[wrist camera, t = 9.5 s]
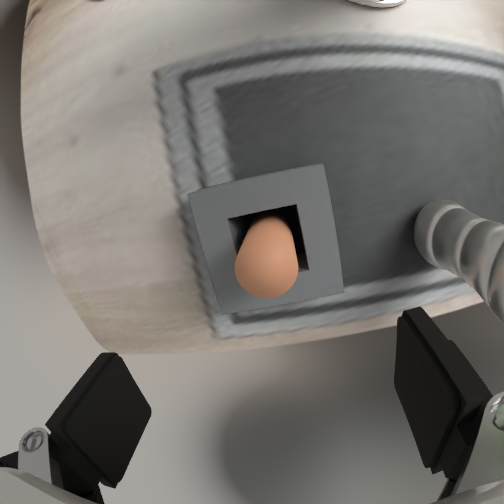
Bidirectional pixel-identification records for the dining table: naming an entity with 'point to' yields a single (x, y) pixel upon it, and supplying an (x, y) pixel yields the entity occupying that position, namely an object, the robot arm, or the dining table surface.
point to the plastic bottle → (464, 248)
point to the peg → (267, 257)
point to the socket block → (260, 199)
